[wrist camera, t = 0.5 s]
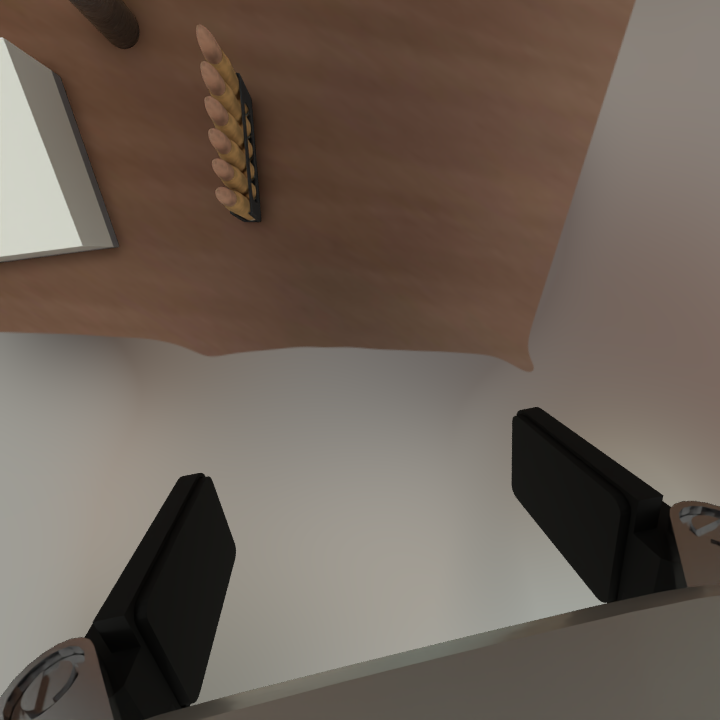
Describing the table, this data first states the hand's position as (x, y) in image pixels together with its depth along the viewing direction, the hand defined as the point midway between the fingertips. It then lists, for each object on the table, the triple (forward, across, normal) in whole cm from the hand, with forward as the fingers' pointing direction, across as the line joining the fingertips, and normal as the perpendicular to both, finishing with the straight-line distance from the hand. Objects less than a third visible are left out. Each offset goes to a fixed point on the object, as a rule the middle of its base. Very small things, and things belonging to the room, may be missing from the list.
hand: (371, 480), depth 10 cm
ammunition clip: (+30, +6, -16) cm, 34 cm away
